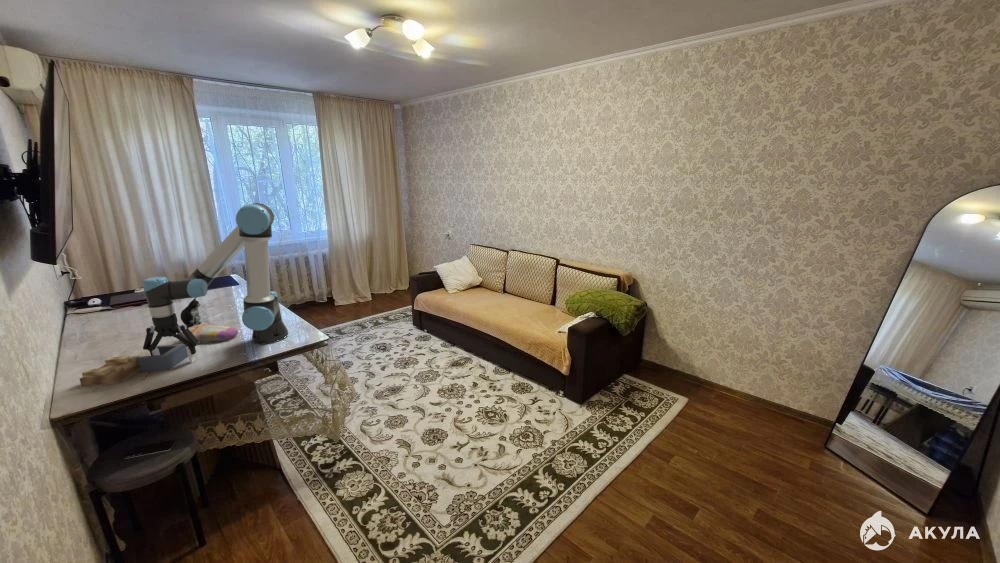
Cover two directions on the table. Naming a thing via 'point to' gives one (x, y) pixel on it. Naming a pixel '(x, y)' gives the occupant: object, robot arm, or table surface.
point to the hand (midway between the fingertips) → (176, 362)
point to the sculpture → (212, 332)
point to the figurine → (191, 314)
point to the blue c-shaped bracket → (164, 358)
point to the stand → (111, 371)
